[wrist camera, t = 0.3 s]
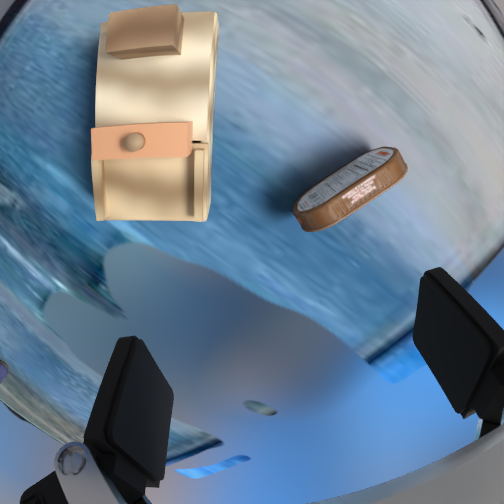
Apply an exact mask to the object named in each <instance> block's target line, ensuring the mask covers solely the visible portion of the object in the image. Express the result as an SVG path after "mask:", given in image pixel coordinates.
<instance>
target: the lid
mask: <svg viewBox="0 0 504 504" xmlns="http://www.w3.org/2000/svg"><path fill="white" fill-rule="evenodd" d="M214 16H215V14H214V12H183V13H181V12H180V10H179V8H178V6H177V4H174V5H163V6H153V7H145V8H137V9H131V10H124V11H119V12H113V13H110V14H109V21H108V22H104V23H101V31H100V40H99V50H98V61H97V76H96V102H95V128H97V127H102V126H110V125H122V124H135V123H153V122H188V121H193V137H192V141H206V140H207V124H208V102H209V83H210V67H211V53H212V40H213V27H214Z"/></svg>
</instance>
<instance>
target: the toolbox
mask: <svg viewBox="0 0 504 504" xmlns="http://www.w3.org/2000/svg"><path fill="white" fill-rule="evenodd" d="M214 14H215V16H214V27H213V40H212V53H211V67H210V83H209V102H208V124H207V140H206V141H192V152H191V154H190V155H189V156H188V157H153V158H126V159H108V160H94V161H92V154H91V167H92V181H93V192H94V202H95V211H96V220H97V221H103V220H173V221H198V222H202V221H207V217H208V212H209V208H210V203H211V172H212V141H213V117H214V97H215V79H216V63H217V49H218V36H219V24H218V17H217V13H214Z"/></svg>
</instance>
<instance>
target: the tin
mask: <svg viewBox="0 0 504 504" xmlns="http://www.w3.org/2000/svg"><path fill="white" fill-rule="evenodd" d="M407 169H408V167H407V165H406V163H405V162H404V160H403V158H402V156H401V154H400V152H399V150H398V149H396V148H392V147H380V148H377V149H374V150H371V151H369V152H367V153H365V154H363V155H361V156H359V157H358V158H356V159H354V160H353V161H351V162H350V163H348V164H346V165H345V166H343V167H342V168H340V169H339V170H337V171H335V172H334V173H332V174H331V175H329V176H328V177H326V178H325V179H323V180H322V181H320V182H319V183H317V184H316V185H314V186H313V187H311V188H310V189H309V190H307V191H306V192H305V193H304V194H303V195H302V196H301V197H300V198H299V199H298V200H297V201H296V203H295V204H294V207H293V213H294V216H295V217H296V219H297V220H298V222H299V223H300V225H301V227H302V229H303V230H304V231H306V232H316V231H320V230H323V229H326V228H328V227H331V226H332V225H334V224H336V223H338V222H340V221H341V220H343V219H344V218H346V217H347V216H349V215H350V214H352V213H353V212H355V211H356V210H358V209H359V208H361V207H362V206H364V205H365V204H367V203H368V202H370V201H372V200H373V199H374V198H376V197H378V196H379V195H381V194H382V193H384V192H385V191H387V190H388V189H390V188H391V187H393V186H394V185H395V184H397V183H398V182H399V181H400V180H401V179H402V178H403V177H404V176H405V174H406V172H407Z"/></svg>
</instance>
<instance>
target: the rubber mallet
mask: <svg viewBox="0 0 504 504" xmlns="http://www.w3.org/2000/svg"><path fill="white" fill-rule="evenodd" d="M7 374H8V367H7V365H6V364H5V363H3V362H2V361H0V383H1V382H2V380H3V379H4V378H5V377H6V376H7Z"/></svg>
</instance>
